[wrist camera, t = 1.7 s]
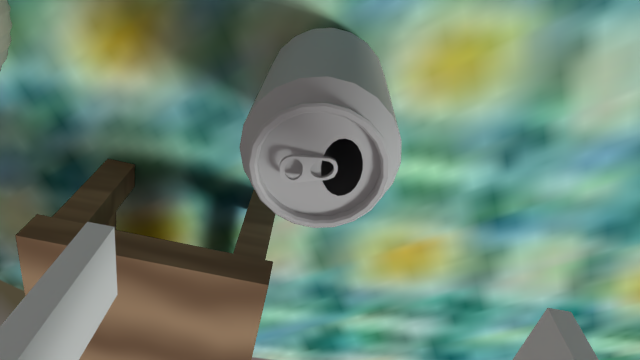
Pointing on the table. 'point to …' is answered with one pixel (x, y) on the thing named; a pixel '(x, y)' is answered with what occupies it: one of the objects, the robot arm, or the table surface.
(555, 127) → the table surface
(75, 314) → the robot arm
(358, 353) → the table surface
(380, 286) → the table surface
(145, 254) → the stool
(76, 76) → the table surface
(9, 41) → the canister
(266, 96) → the can
